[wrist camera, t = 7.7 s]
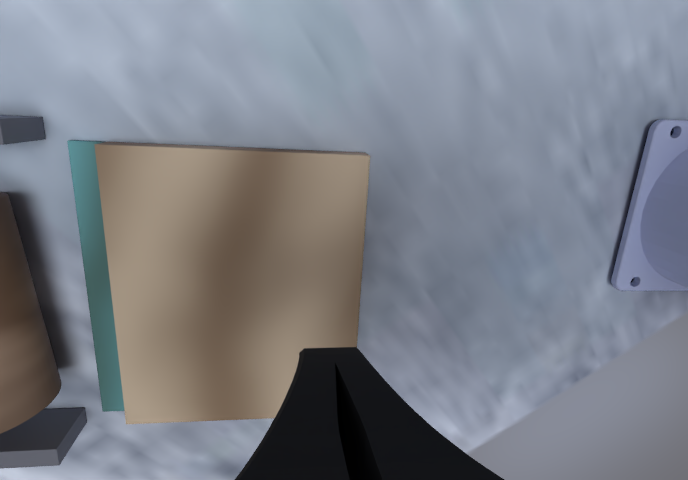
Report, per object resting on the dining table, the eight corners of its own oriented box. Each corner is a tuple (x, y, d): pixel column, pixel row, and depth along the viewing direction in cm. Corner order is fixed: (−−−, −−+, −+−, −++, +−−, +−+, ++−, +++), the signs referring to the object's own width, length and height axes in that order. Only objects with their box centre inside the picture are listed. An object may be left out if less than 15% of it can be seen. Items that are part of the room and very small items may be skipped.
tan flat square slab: (364, 152, 18) (370, 155, 17) (348, 398, 21) (352, 414, 20) (71, 140, 16) (54, 142, 15) (105, 406, 20) (94, 425, 19)
